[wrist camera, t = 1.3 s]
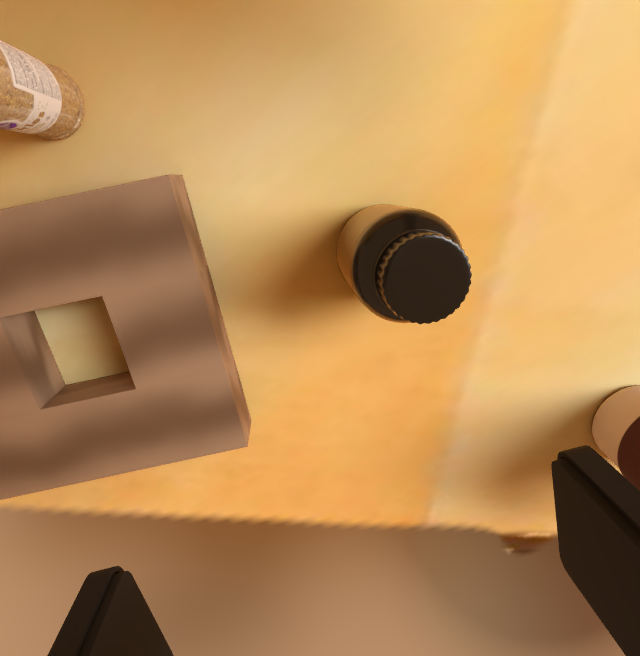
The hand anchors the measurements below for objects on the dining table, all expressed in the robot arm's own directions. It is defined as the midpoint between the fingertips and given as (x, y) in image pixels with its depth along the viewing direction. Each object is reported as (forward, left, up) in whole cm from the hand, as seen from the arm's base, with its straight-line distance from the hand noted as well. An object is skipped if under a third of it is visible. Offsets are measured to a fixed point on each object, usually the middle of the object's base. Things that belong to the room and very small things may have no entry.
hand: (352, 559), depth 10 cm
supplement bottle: (-2, +6, -27) cm, 28 cm away
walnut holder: (0, -17, -27) cm, 31 cm away
